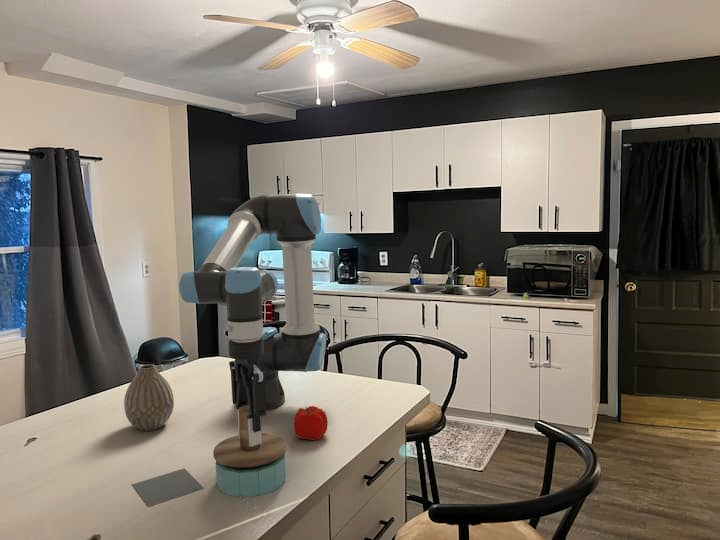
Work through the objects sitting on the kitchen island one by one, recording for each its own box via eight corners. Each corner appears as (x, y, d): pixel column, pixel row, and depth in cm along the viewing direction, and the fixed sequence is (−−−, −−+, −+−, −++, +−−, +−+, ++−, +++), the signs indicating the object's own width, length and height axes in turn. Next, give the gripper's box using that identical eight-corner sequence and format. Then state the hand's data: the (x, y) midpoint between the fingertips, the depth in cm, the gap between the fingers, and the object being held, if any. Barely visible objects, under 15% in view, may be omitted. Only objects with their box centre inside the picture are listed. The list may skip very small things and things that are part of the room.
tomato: (312, 427, 155) (312, 401, 154) (334, 436, 149) (333, 409, 148) (285, 437, 149) (284, 410, 148) (306, 447, 143) (306, 419, 142)
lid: (202, 448, 126) (199, 406, 125) (265, 430, 136) (264, 391, 135) (232, 474, 114) (230, 428, 112) (299, 452, 123) (298, 409, 122)
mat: (131, 486, 124) (131, 484, 124) (184, 469, 131) (184, 468, 131) (148, 508, 115) (147, 507, 115) (204, 489, 122) (204, 488, 122)
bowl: (207, 478, 127) (205, 454, 126) (266, 459, 136) (265, 436, 135) (235, 506, 115) (234, 479, 114) (298, 483, 124) (297, 458, 124)
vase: (117, 427, 158) (113, 367, 156) (161, 414, 167) (157, 357, 165) (139, 440, 149) (134, 376, 147) (183, 425, 158) (180, 365, 156)
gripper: (213, 334, 126) (218, 432, 129) (248, 349, 113) (252, 459, 115) (243, 329, 131) (248, 424, 134) (280, 342, 117) (284, 449, 120)
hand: (250, 440), depth 124 cm, fingers closed on lid, 4 cm apart
